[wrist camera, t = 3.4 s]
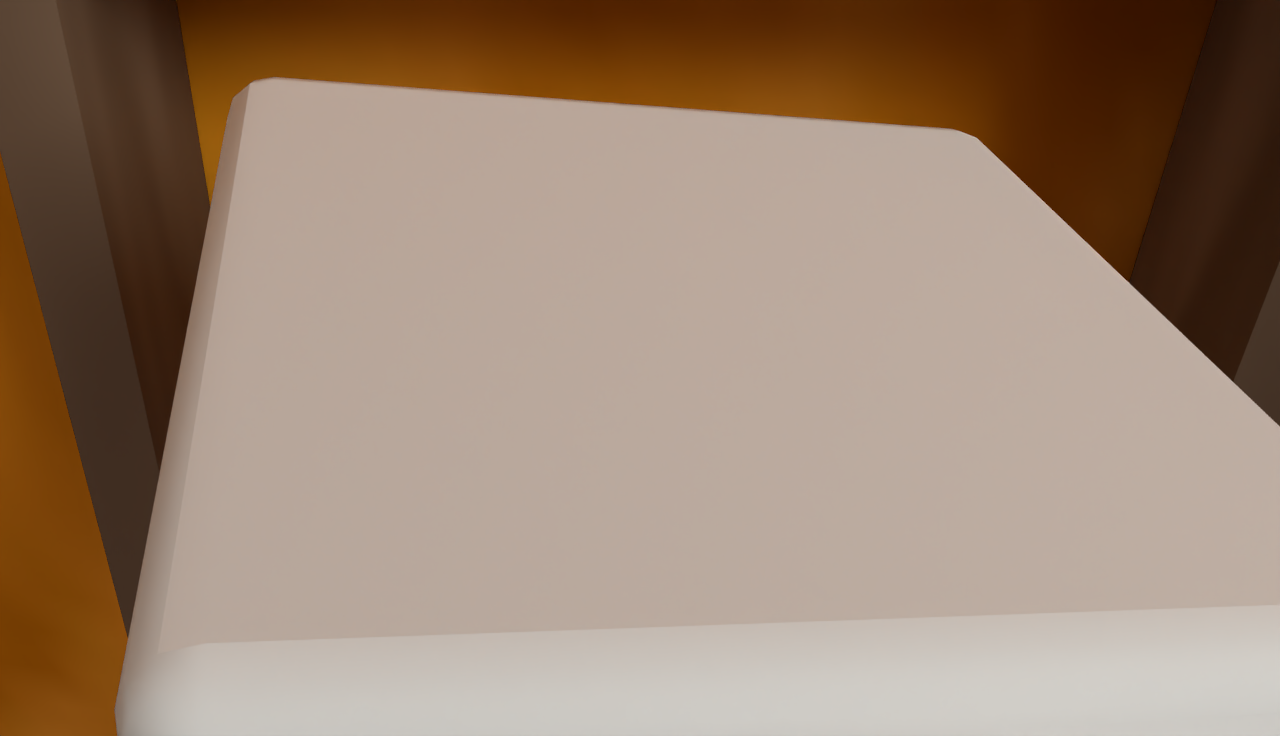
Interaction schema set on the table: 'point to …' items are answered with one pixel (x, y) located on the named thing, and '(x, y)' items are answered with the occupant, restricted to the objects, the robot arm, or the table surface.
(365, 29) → the table surface
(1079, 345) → the medicine bottle
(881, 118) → the table surface
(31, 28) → the walnut rack
